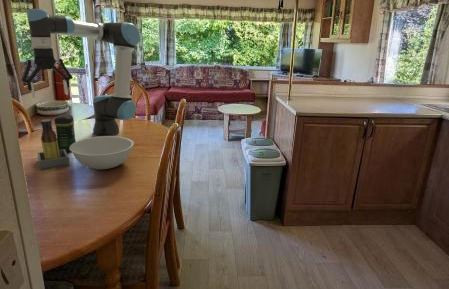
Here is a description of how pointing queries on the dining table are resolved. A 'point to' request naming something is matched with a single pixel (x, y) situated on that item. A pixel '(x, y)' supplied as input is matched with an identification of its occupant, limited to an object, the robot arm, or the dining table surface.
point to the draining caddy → (53, 160)
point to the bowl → (102, 151)
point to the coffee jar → (65, 131)
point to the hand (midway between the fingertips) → (50, 96)
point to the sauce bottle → (49, 141)
